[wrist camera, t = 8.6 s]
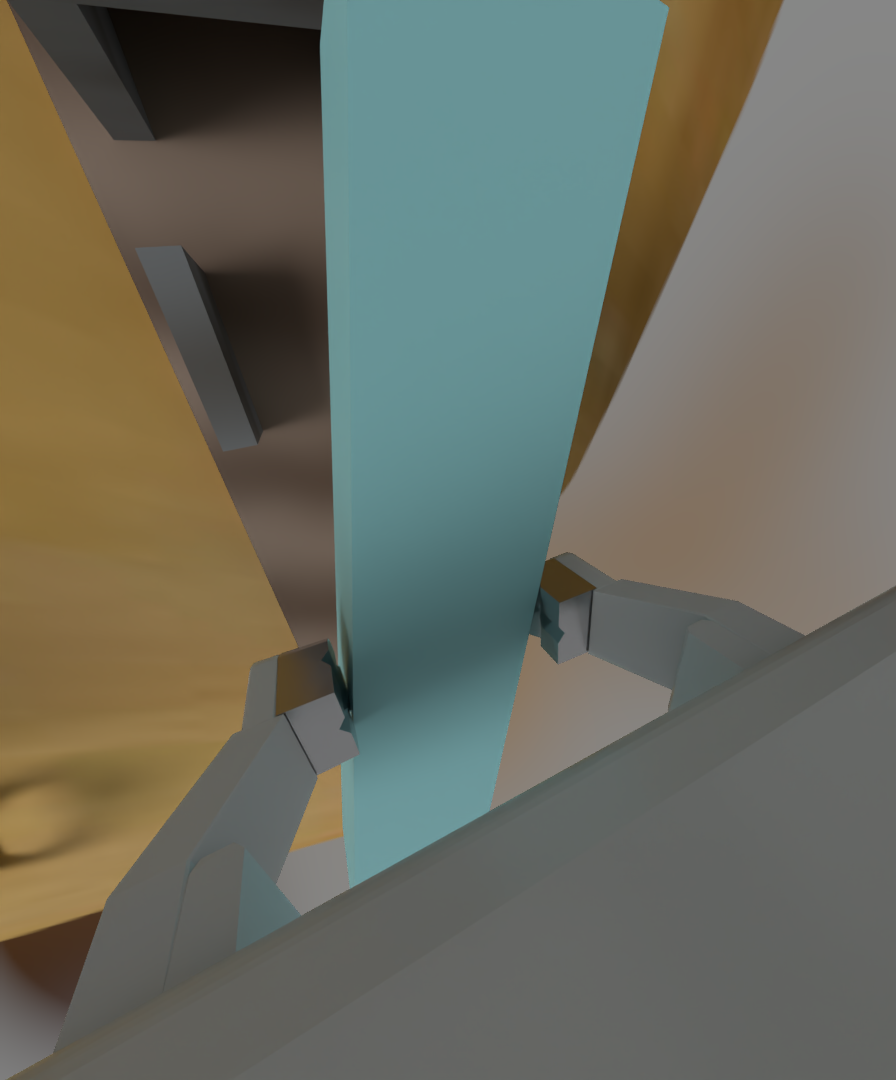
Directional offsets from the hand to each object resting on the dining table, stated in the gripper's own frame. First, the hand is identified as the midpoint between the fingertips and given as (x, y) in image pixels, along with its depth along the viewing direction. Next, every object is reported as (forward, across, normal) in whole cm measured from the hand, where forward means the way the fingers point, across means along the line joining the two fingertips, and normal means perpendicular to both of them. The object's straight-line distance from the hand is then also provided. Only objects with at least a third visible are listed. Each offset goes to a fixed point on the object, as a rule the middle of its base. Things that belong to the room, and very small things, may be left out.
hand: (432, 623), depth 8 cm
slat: (+2, 0, 0) cm, 2 cm away
